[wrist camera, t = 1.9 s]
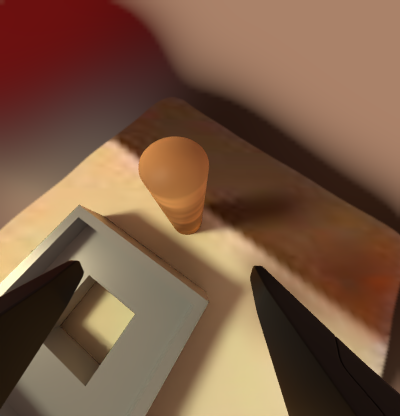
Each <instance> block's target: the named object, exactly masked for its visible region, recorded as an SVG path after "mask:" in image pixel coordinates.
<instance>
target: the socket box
mask: <svg viewBox="0 0 400 416" xmlns="http://www.w3.org/2000/svg"><path fill="white" fill-rule="evenodd" d="M69 260H78V261H79V262H80V263H81V266H82V268H83V270H84V275H83V277H82V279H81V281H80V283H79V285H78V287H77V289H76V291H75V292H74V294H73V296H72V298H71V300H70V302H69V304H68V305H67V307H66V309H65V310H64V312H63V314H62V315H61V317H60V318H59V320H58V321H57V323H56V324H55V326H54V327H53V329H52V331H51V332H50V334H49V335H48V337H47V338H46V340H45V341H44V343H43V344H42V346H41V348H40V349H39V351H38V352H37V354H36V355H35V357H34V358H33V360H32V361H31V363H30V365H29V366H28V368H27V369H26V371H25V372H24V374H23V375H22V377H21V378H20V380H19V382H18V383H17V385H16V386H15V388H14V389H13V391H12V392H11V394H10V395H9V397H8V399H7V400H6V402H5V403H4V405H3V406H2V408H1V409H0V416H146V414H147V412H148V410H149V409H150V407H151V405H152V403H153V401H154V400H155V398H156V396H157V394H158V392H159V391H160V389H161V387H162V385H163V384H164V382H165V380H166V378H167V376H168V375H169V373H170V371H171V369H172V367H173V366H174V364H175V362H176V360H177V358H178V357H179V355H180V353H181V351H182V349H183V348H184V346H185V344H186V342H187V341H188V339H189V337H190V335H191V333H192V332H193V330H194V328H195V326H196V324H197V323H198V321H199V319H200V317H201V315H202V314H203V312H204V310H205V308H206V306H207V305H208V303H209V301H208V297H207V294H206V292H205V291H204V290H203V289H201V288H200V287H199V286H197V285H196V284H194V283H193V282H192V281H190V280H189V279H188V278H186V277H185V276H184V275H182V274H181V273H180V272H178V271H177V270H176V269H174V268H173V267H171V266H170V265H169V264H167V263H166V262H165V261H163V260H162V259H161V258H159V257H158V256H157V255H155V254H154V253H153V252H151V251H150V250H148V249H147V248H146V247H144V246H143V245H142V244H140V243H139V242H138V241H136V240H135V239H134V238H132V237H131V236H130V235H128V234H127V233H125V232H124V231H123V230H121V229H120V228H119V227H117V226H116V225H115V224H113V223H112V222H111V221H109V220H108V219H107V218H105V217H104V216H102V215H100V214H98V213H96V212H93V211H91V210H89V209H87V208H85V207H83V206H81V205H78V206H77V207H76V208H75V209H74V210H73V211H72V212H71V213H70V214H69V215H68V216H67V217H66V218H65V219H64V220H63V221H62V222H61V223H60V224H59V225H58V226H57V227H56V228H55V229H54V230H53V231H52V232H51V233H50V234H49V235H48V236H47V237H46V238H45V239H44V240H43V241H42V242H41V243H40V244H39V245H38V246H37V247H36V248H35V249H34V250H33V251H32V252H31V253H30V254H29V255H28V256H27V257H26V258H25V259H24V260H23V261H22V262H21V263H20V264H19V265H18V266H17V267H16V268H15V269H14V270H13V271H12V272H11V273H10V274H9V275H8V276H7V277H6V278H5V279H4V280H3V281H2V282H1V283H0V297H1V296H3V295H4V294H6V293H8V292H10V291H12V290H14V289H16V288H18V287H20V286H21V285H23V284H25V283H27V282H29V281H31V280H33V279H35V278H37V277H38V276H40V275H42V274H44V273H46V272H48V271H50V270H52V269H54V268H55V267H57V266H59V265H61V264H63V263H65V262H67V261H69ZM96 281H97V282H98V283H99V284H100V285H102V286H103V287H104V288H105V289H106V290H107V291H109V292H110V293H111V294H112V295H113V296H115V297H116V298H117V299H118V300H119V301H120V302H122V303H123V304H124V305H125V306H126V307H128V308H129V309H130V310H131V311H132V312H134V313H135V315H134V317H133V318H132V319H131V321H130V322H129V324H128V325H127V327H126V328H125V330H124V331H123V333H122V334H121V335H120V337H119V338H118V340H117V341H116V343H115V344H114V346H113V347H112V349H111V350H110V351H109V353H108V354H107V356H106V357H105V359H104V360H103V362H102V363H101V365H100V364H98V363H97V362H96V361H95V360H94V359H93V358H92V357H91V356H90V355H89V354H88V353H87V352H86V351H85V350H84V349H83V348H82V347H81V346H80V345H79V344H78V343H77V342H76V341H75V340H74V339H73V338H72V337H70V336H69V335H68V334H67V333H66V332H65V331H64V330H63V329H62V328H61V327H60V325H61V324H62V323H63V321H64V320H65V319H66V318H67V316H68V315H69V314H70V313H71V312H72V310H73V309H74V308H75V307H76V305H77V304H78V303H79V302H80V300H81V299H82V298H83V297H84V296H85V294H86V293H87V292H88V291H89V289H90V288H91V287H92V286H93V284H94V283H95V282H96Z"/></svg>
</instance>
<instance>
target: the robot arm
mask: <svg viewBox="0 0 400 416" xmlns="http://www.w3.org/2000/svg"><path fill="white" fill-rule="evenodd" d="M83 275H84V270H83V268H82V266H81V263H80V262H79V261H78V260H69V261H67V262H65V263H63V264H61V265H59V266H57V267H55V268H54V269H52V270H50V271H48V272H46V273H44V274H42V275H40V276H38V277H37V278H35V279H33V280H31V281H29V282H27V283H25V284H23V285H21V286H20V287H18V288H16V289H14V290H12V291H10V292H8V293H6V294H4V295H3V296H1V297H0V409H1V408H2V406H3V405H4V403H5V402H6V400H7V399H8V397H9V395H10V394H11V392H12V391H13V389H14V388H15V386H16V385H17V383H18V382H19V380H20V378H21V377H22V375H23V374H24V372H25V371H26V369H27V368H28V366H29V365H30V363H31V361H32V360H33V358H34V357H35V355H36V354H37V352H38V351H39V349H40V348H41V346H42V344H43V343H44V341H45V340H46V338H47V337H48V335H49V334H50V332H51V331H52V329H53V327H54V326H55V324H56V323H57V321H58V320H59V318H60V317H61V315H62V314H63V312H64V310H65V309H66V307H67V305H68V304H69V302H70V300H71V298H72V296H73V294H74V292H75V291H76V289H77V287H78V285H79V283H80V281H81V279H82V277H83ZM250 281H251V286H252V291H253V296H254V300H255V305H256V310H257V314H258V317H259V321H260V324H261V327H262V330H263V334H264V337H265V340H266V343H267V347H268V350H269V353H270V356H271V359H272V363H273V366H274V369H275V372H276V376H277V379H278V382H279V385H280V389H281V392H282V395H283V398H284V401H285V405H286V408H287V411H288V414H289V416H400V394H399V393H398V392H397V391H396V390H395V389H393V388H392V387H391V386H390V385H389V384H388V383H387V382H386V381H384V380H383V379H382V378H381V377H380V376H379V375H378V374H376V373H375V372H374V371H373V370H372V369H371V368H370V367H368V366H367V365H366V364H365V363H364V362H363V361H362V360H361V359H360V358H359V357H358V356H356V355H355V354H354V353H353V352H352V351H351V350H350V349H349V348H348V347H347V346H346V345H345V344H344V343H343V342H342V341H340V340H339V339H338V338H337V337H335V335H334V334H333V333H332V332H331V331H330V330H329V329H328V328H327V327H326V326H325V325H324V324H322V323H321V322H320V321H319V320H318V319H317V318H316V317H315V316H314V315H313V314H312V313H311V312H310V311H309V310H308V309H307V308H306V307H305V306H303V305H302V304H301V303H300V302H299V301H298V300H297V299H296V298H295V297H294V296H293V295H292V294H291V293H290V292H289V291H288V290H287V289H286V288H285V287H283V286H282V285H281V284H280V283H279V282H278V281H277V280H276V279H275V278H274V277H273V276H272V275H271V274H270V273H269V272H268V271H267V270H266V269H265V268H263V267H262V266H253V269H252V272H251V276H250Z"/></svg>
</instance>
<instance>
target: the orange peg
mask: <svg viewBox="0 0 400 416" xmlns="http://www.w3.org/2000/svg"><path fill="white" fill-rule="evenodd" d="M208 170H209V161H208V157H207V155H206V153H205V151H204V150H203V148H202V147H201V146H200V145H198V144H197V143H196V142H194V141H192V140H190V139H187V138H183V137H167V138H163V139H160V140H158V141H156V142H154V143H152V144H151V145H150V146H149V147H148V148H147V149H146V150H145V151H144V152H143V154H142V156H141V158H140V161H139V175H140V178H141V179H142V181H143V183H144V184H145V186H146V187H147V189H148V190H149V192H150V193H151V194H152V196H153V197H154V199H155V200H156V202H157V203H158V205H159V206H160V207H161V209H162V210H163V212H164V213H165V215H166V216H167V218H168V219H169V221H170V222H171V223H172V225H173V226H174V228H175V229H176V230H177V231H178V232H179V233H181V234H185V235H189V234H192V233H194V232H196V231H197V230H198V229H199V227H200V225H201V221H202V214H203V207H204V199H205V192H206V185H207V177H208Z"/></svg>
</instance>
